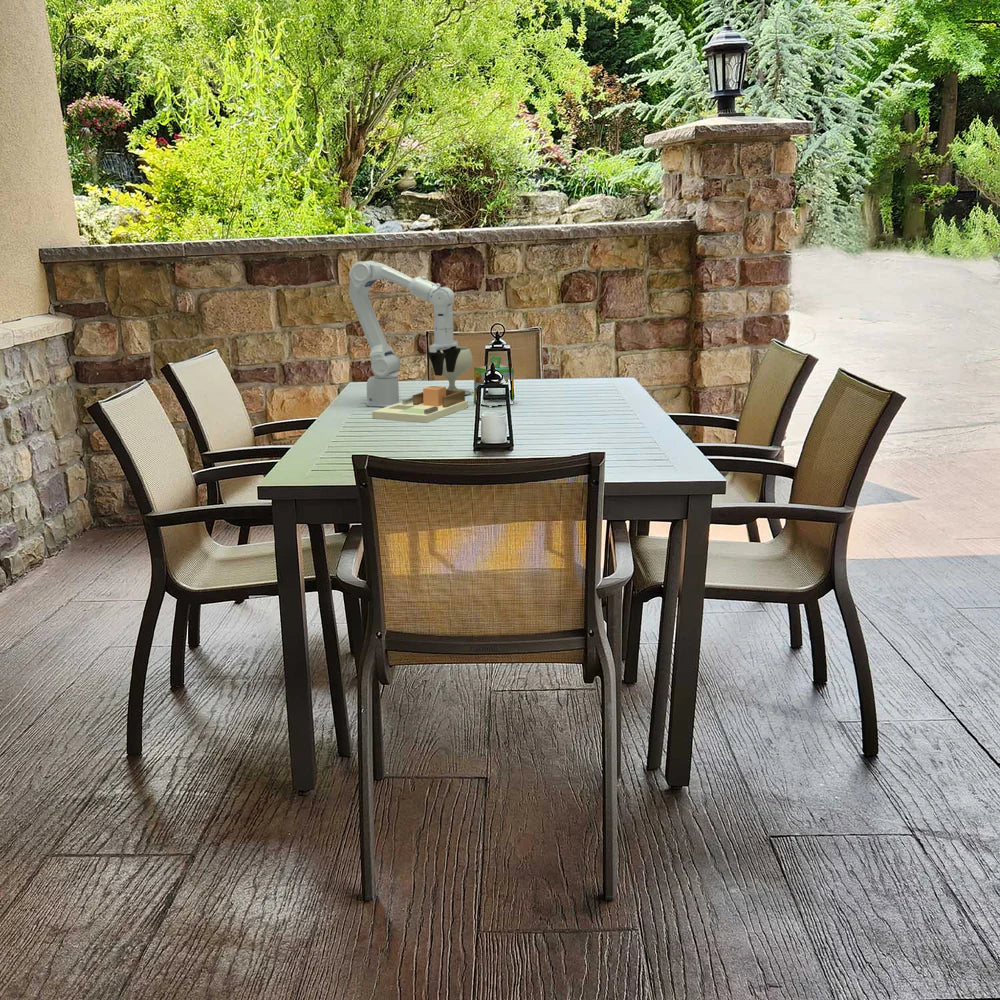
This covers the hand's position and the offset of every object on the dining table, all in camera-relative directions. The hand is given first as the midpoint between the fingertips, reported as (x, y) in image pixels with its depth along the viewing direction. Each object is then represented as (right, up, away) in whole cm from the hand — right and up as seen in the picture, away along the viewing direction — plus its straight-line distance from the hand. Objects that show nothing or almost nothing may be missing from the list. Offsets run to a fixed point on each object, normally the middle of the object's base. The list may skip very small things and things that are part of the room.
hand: (444, 373), depth 305 cm
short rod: (-3, -13, -16) cm, 21 cm away
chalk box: (+15, -9, +7) cm, 19 cm away
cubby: (-2, -9, -1) cm, 9 cm away
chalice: (+1, -4, +26) cm, 27 cm away
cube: (-3, -10, -3) cm, 10 cm away
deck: (-7, -12, -5) cm, 15 cm away
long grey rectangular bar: (-10, -8, +1) cm, 13 cm away
